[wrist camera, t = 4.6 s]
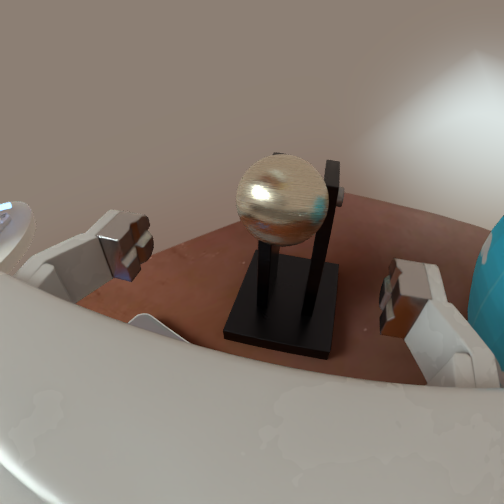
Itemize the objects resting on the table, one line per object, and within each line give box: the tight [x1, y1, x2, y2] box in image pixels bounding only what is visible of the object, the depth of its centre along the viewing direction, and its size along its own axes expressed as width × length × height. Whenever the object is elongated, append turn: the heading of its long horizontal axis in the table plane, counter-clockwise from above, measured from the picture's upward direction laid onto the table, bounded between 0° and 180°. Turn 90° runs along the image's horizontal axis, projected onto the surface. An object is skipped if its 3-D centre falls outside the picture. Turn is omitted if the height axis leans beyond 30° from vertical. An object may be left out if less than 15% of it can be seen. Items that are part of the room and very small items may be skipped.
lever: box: [236, 154, 329, 247], centre depth 16 cm, size 13×4×4 cm, turn 166°
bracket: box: [223, 153, 344, 360], centre depth 25 cm, size 11×9×14 cm
